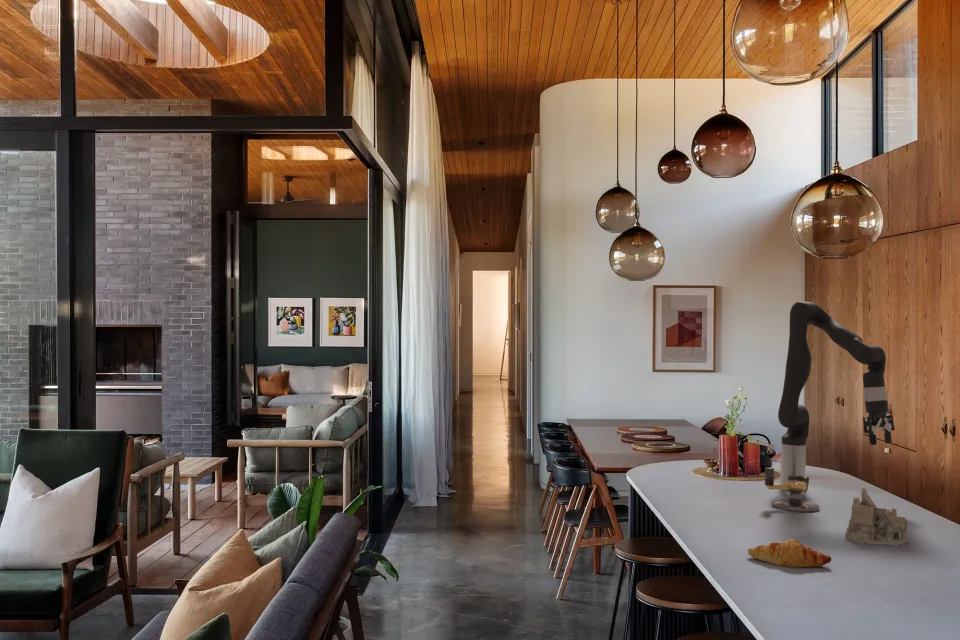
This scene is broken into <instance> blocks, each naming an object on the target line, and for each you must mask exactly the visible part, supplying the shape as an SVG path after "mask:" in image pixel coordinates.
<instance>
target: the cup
mask: <svg viewBox="0 0 960 640" xmlns="http://www.w3.org/2000/svg"><path fill="white" fill-rule="evenodd" d="M788 481H801V482H805V483H806V491H804V492H805V494H806V493H807V491H808V489H809V484H810V483H809V482H810V477H809V476H806V479H804V476H801V475H799V476H798V477H797V475H796V476H795V477H794V476H793V475H792V476H791V475H790V477H789V476H788ZM804 496H805V495H802V499H804Z"/></svg>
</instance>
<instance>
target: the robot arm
mask: <svg viewBox="0 0 960 640" xmlns="http://www.w3.org/2000/svg"><path fill="white" fill-rule="evenodd" d="M810 325H811V326H814V327H816V328H818V329H821V330H822V331H823V332H824V333H826V334H827V336H828V337H829V339H830V340H832V341H833V343H834V344H836V345H837V346H838V347H840V348H842V349H843V350H845V351H847V352H848V353H849V355H850V356H851V357H852V358H853V359H854V360H855V361H857V362H859V363H860V364H861V365H862V364H863V365H864V366H865V365H866V366H867V371H865V372H863V374H862V382H863V398H864V400H863V401H864V407H865V408H864V409H865V413H866V414H868V416H865V415H864V416H863V417H862V422H863V426H862V427H863V433H865V434H867V435H868V439H869V445H871V446H876V445H877V444H878V442H877V435H876V433H877V431H878V429H879V428H880V429H881V430H882V431H883V434H884V435H883V437H884V442H885V444H892V443H893V441H892V439H893V438H892V432H893V431H895V429H896V428H895V427H896V426H895V421H894V416H893V414H892V413H891V414H887V413H889V403H888V402H889V401H888V395H887V394H888V393H887V389H886V382H885V377H884V376H885V370H886V361H887V359H886V358H887V357H886V352H885V350H884V349H883V347H881V346H879V345H868V344H865V343H864V342H863V338H862V337H860V336H859V335H858V334H857V333H855V332H853V331H852V330H850V329H849V328H847V327H845V326H844V325H842V324H840V323H839V322H838V321H837V320H835V319H834V318H833V317H832V316H831V315H830V314H828V313H827V312H826V311H825V310H824V309H823V308H822V307H821V306H820V305H819V304H817V303H816V302H811V301H796V302H795V303H794V304H793V305H792V306H791V308H790V310H789V334H788V335H789V337H788V348H787V356H786V361H785V362H786V364H785V374H784V381H783V390H782V394H781V399H780V403H779V408H778V412H777V414H778V415H777V417H778V418H777V419H778V422H779V423H780V425H781V426H782V427H784V428H786V429H787V431H786V432H785V434H783V435H782V437H781V456H780V457H781V461H780V478H779V479H780V482H779V484H785V481H788V476H789V477H790V475H791V476H792V475H793V476H794V477H795V476H796V475H797V477H798V476H799V475H801V476H804V479H806V478H807V476H806V475H807V474H806V471H807V470H806V467H807V466H806V465H807V461H806V460H807V459H806V458H807V440H808V438H809V432H810V412H809V411H808V409H807V408H806V407H805V406H804V405H803V404H799V403H800V402H799V401H800V396H801V393H802V390H803V389H804V387H805V385H806V383H808V382H807V381H808V379H809V378H810V375H811V374H810V373H811V370H812V369H811V367H812V353H811V350H810V347H809V345H808V341H807V340H808V339H807V332H808V326H810Z"/></svg>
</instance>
